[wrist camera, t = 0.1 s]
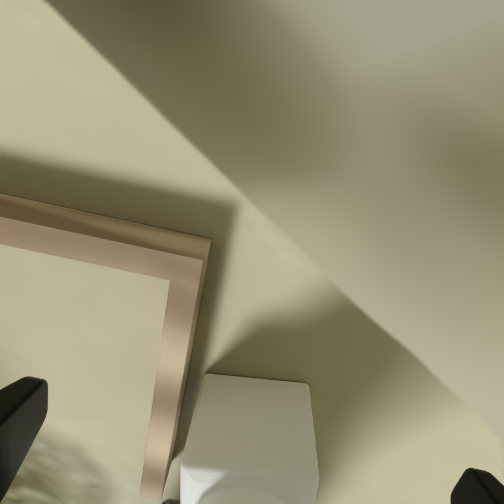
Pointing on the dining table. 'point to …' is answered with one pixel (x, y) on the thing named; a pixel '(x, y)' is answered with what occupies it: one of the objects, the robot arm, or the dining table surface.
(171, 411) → the cleat bracket
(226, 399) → the medicine bottle
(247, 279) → the dining table surface
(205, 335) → the dining table surface
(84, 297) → the dining table surface
